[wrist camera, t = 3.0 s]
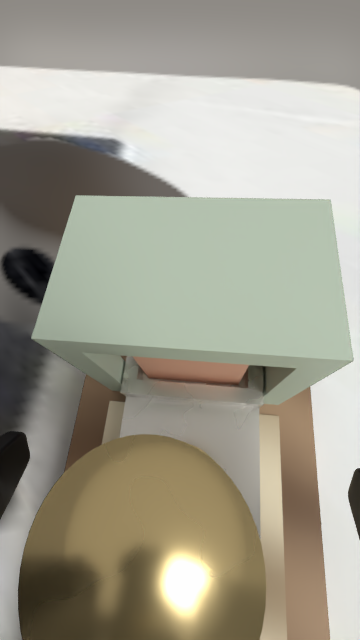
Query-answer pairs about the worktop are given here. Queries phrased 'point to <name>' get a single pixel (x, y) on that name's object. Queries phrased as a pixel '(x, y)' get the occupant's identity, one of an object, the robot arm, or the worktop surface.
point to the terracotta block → (192, 370)
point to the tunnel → (199, 288)
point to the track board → (275, 505)
